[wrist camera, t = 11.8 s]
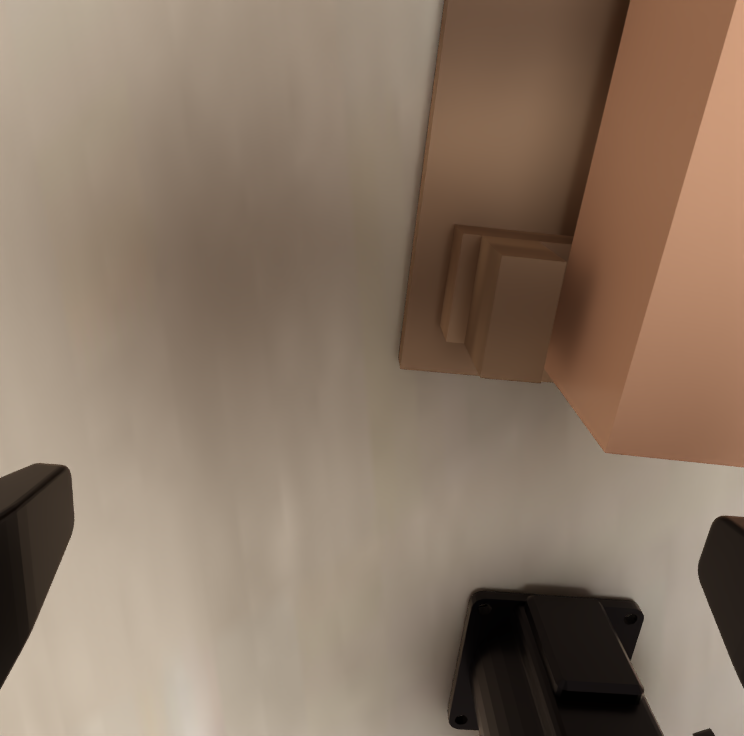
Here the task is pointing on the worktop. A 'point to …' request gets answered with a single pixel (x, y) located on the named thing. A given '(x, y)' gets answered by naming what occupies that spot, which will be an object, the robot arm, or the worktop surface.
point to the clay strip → (662, 245)
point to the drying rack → (504, 180)
